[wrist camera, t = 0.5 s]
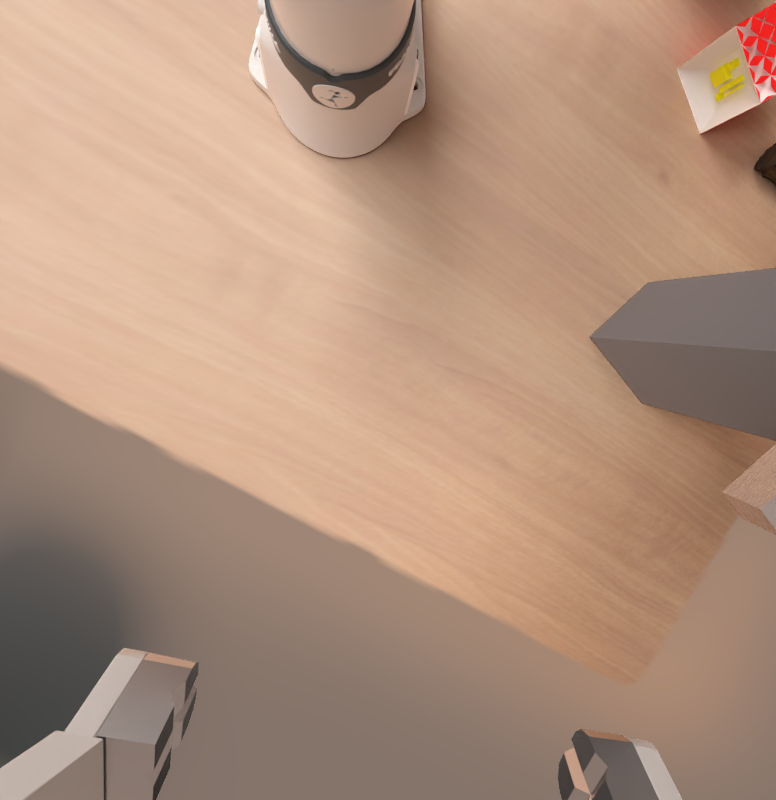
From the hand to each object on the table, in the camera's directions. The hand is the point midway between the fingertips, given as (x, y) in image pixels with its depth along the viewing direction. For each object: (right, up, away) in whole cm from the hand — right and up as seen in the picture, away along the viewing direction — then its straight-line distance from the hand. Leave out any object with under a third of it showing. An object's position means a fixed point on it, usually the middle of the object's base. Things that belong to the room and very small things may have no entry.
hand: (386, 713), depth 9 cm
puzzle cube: (+39, +44, +44) cm, 73 cm away
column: (+33, +14, +48) cm, 60 cm away
